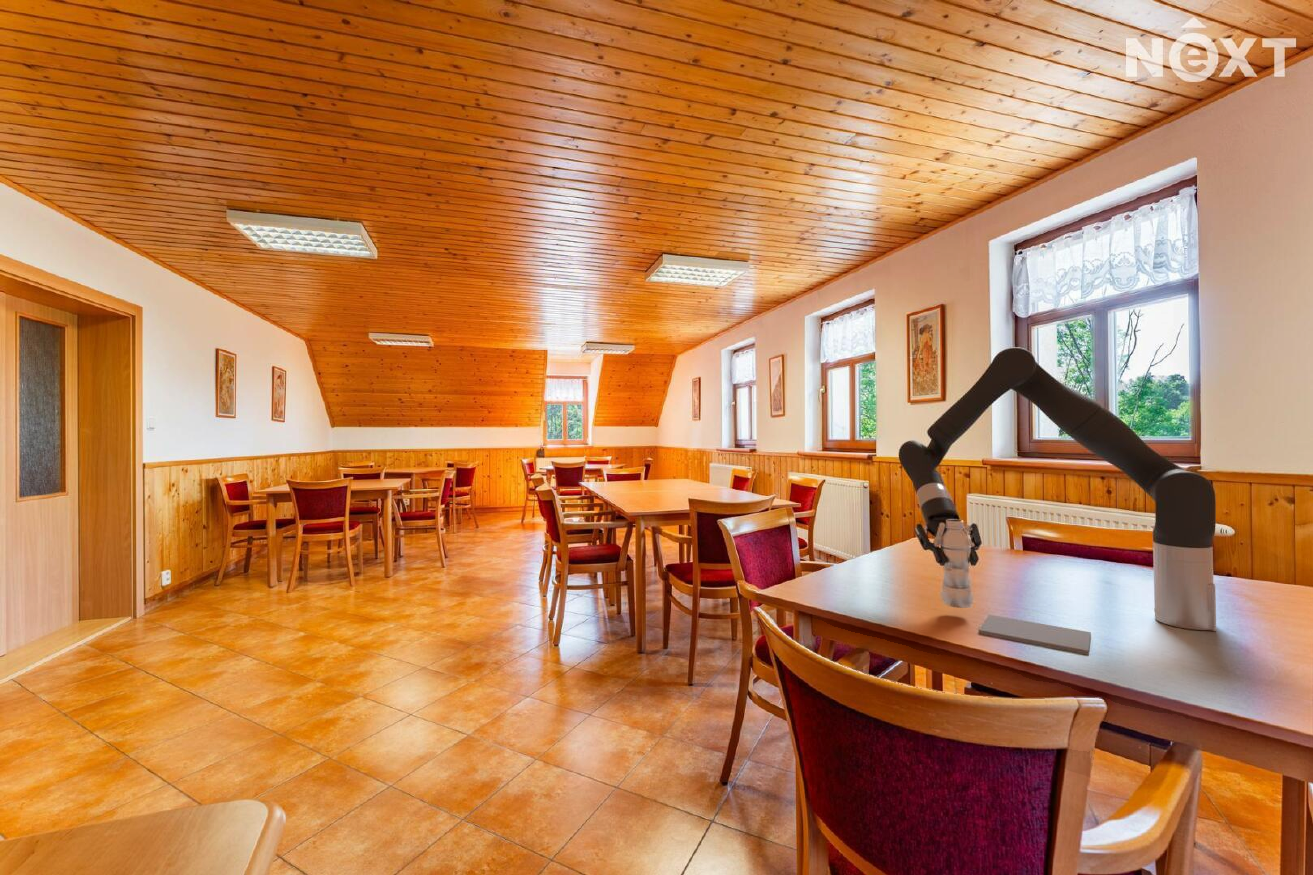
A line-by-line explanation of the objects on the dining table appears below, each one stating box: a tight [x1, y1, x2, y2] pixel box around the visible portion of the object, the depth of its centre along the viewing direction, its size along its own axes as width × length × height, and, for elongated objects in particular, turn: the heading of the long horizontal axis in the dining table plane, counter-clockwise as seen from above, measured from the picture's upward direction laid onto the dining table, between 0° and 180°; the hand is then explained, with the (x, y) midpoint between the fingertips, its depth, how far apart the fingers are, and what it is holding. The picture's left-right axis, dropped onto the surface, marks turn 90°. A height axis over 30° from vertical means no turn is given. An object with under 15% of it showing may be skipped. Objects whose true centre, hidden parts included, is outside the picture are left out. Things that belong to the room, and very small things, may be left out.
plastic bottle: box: [939, 519, 974, 609], centre depth 123 cm, size 6×7×20 cm
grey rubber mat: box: [978, 614, 1092, 656], centre depth 111 cm, size 18×12×1 cm, turn 49°
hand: (958, 563), depth 121 cm, fingers closed on plastic bottle, 6 cm apart
